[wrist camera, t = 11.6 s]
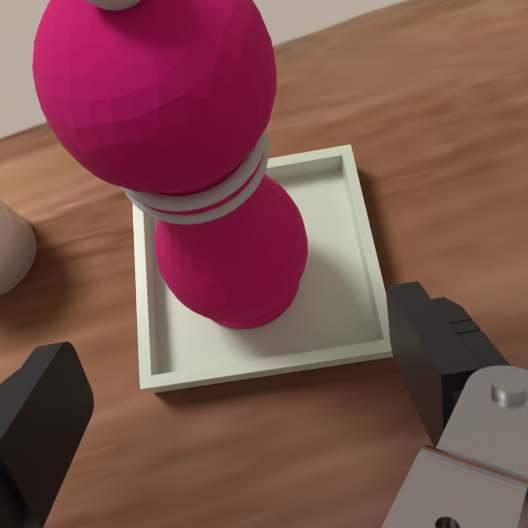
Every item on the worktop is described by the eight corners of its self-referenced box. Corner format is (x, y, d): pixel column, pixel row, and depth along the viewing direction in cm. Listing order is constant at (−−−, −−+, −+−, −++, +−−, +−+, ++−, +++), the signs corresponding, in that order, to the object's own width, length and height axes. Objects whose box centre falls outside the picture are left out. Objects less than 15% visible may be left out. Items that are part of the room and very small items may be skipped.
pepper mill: (192, 215, 29) (-36, -199, 10) (312, 220, 28) (306, -226, 9) (173, 334, 26) (-172, 76, 8) (305, 343, 25) (274, 77, 7)
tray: (153, 393, 26) (140, 389, 24) (143, 199, 30) (131, 182, 28) (392, 356, 25) (399, 350, 23) (348, 163, 30) (350, 144, 28)
